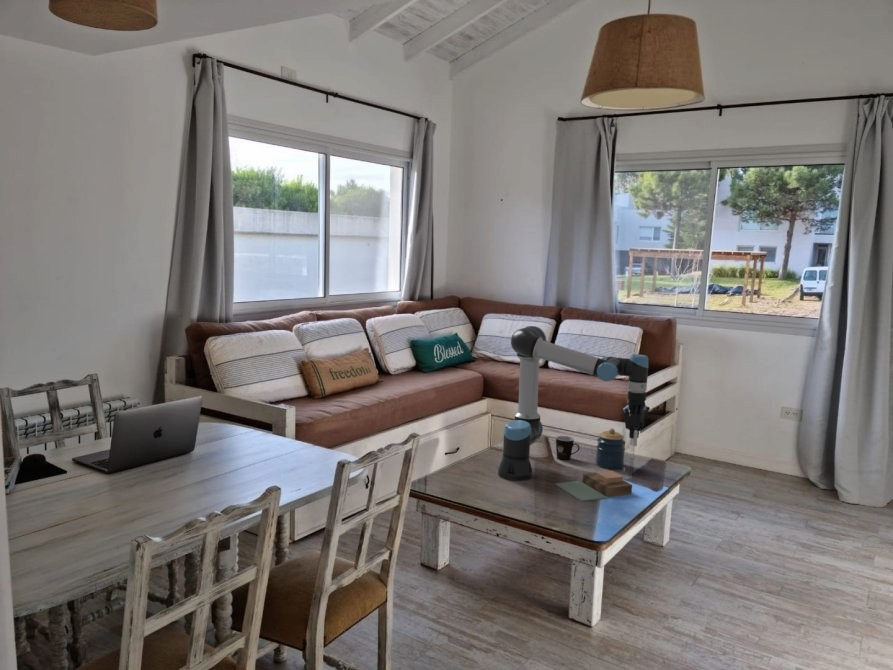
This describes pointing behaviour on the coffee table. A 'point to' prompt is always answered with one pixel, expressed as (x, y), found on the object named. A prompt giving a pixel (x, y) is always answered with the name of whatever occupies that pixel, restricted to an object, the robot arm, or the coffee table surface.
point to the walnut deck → (607, 486)
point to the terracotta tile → (609, 476)
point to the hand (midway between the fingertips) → (633, 445)
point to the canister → (610, 450)
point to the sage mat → (581, 491)
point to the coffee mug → (564, 447)
